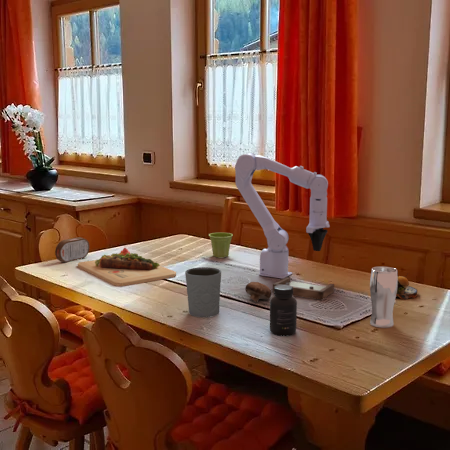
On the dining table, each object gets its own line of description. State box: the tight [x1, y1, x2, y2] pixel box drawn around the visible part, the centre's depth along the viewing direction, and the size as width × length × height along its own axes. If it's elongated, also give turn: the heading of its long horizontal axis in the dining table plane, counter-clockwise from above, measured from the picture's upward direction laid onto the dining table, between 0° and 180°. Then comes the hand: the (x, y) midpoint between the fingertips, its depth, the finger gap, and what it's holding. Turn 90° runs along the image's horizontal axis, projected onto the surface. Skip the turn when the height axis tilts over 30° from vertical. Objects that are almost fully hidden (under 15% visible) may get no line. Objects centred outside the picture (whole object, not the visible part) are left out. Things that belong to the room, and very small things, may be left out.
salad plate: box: [396, 273, 418, 300], centre depth 189 cm, size 12×12×8 cm
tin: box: [54, 236, 90, 263], centre depth 233 cm, size 15×3×8 cm, turn 144°
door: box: [290, 281, 326, 290], centre depth 192 cm, size 12×7×2 cm, turn 58°
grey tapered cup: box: [185, 266, 222, 318], centre depth 170 cm, size 10×10×12 cm
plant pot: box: [208, 232, 234, 259], centre depth 240 cm, size 9×9×9 cm
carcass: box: [272, 276, 335, 301], centre depth 191 cm, size 16×10×3 cm, turn 59°
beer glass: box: [369, 266, 398, 329], centre depth 160 cm, size 7×7×15 cm
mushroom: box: [244, 281, 272, 303], centre depth 182 cm, size 8×8×6 cm
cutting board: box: [77, 247, 177, 287], centre depth 217 cm, size 35×23×8 cm
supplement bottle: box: [269, 285, 298, 337], centre depth 154 cm, size 7×7×12 cm
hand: (317, 250), depth 207 cm, fingers closed
